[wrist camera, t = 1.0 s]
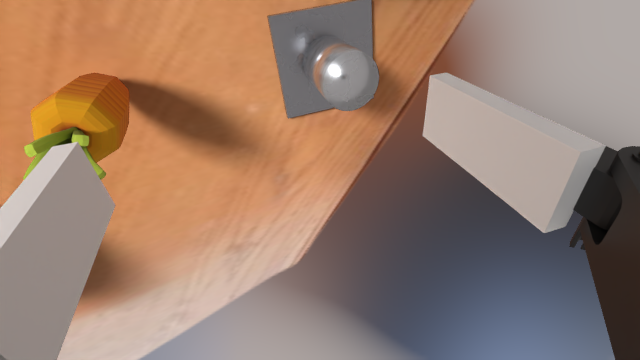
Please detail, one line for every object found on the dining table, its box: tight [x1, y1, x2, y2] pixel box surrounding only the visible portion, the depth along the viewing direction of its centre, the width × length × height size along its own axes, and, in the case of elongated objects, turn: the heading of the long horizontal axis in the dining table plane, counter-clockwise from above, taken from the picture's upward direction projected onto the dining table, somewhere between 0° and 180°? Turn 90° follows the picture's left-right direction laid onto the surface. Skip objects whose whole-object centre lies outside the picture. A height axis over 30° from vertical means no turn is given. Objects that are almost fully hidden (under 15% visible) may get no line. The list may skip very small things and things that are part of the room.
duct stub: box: [267, 0, 379, 118], centre depth 30 cm, size 10×10×8 cm
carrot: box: [23, 73, 129, 180], centre depth 23 cm, size 5×5×15 cm
